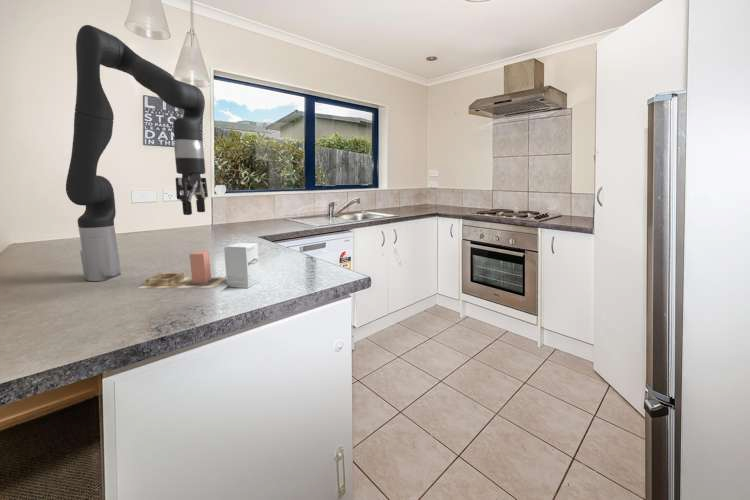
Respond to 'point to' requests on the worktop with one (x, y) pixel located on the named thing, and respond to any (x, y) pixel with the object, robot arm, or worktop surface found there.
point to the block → (200, 267)
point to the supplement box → (242, 265)
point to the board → (178, 281)
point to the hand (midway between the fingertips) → (194, 213)
